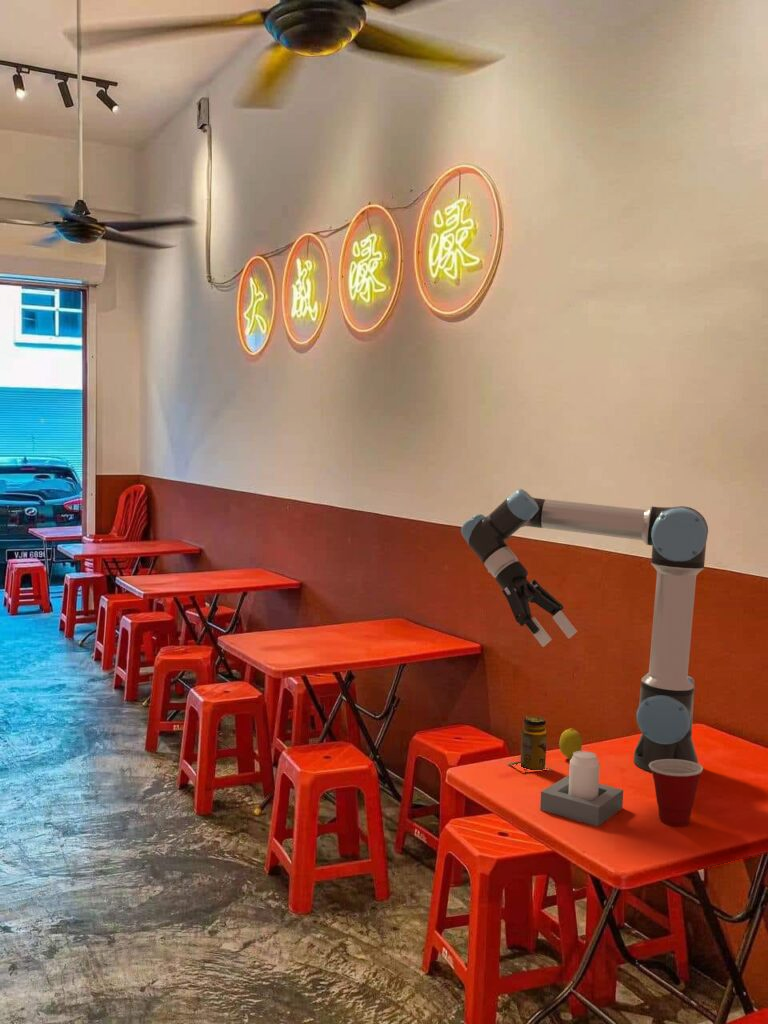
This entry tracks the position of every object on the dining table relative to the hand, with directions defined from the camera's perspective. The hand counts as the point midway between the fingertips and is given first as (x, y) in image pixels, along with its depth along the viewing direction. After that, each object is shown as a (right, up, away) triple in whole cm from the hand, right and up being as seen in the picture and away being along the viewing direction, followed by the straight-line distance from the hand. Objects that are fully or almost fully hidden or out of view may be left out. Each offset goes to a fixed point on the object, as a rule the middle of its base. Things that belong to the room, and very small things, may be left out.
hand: (560, 639), depth 206 cm
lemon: (+5, -32, +14) cm, 35 cm away
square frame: (+1, -34, -18) cm, 38 cm away
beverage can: (+1, -34, -19) cm, 39 cm away
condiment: (-6, -32, +7) cm, 34 cm away
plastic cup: (+19, -35, -23) cm, 46 cm away
